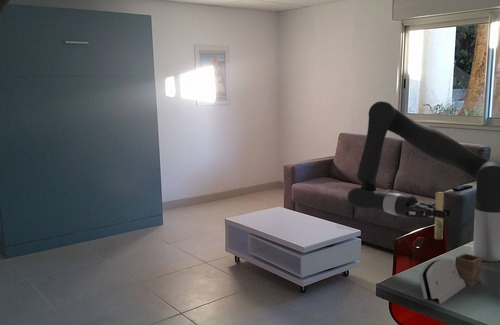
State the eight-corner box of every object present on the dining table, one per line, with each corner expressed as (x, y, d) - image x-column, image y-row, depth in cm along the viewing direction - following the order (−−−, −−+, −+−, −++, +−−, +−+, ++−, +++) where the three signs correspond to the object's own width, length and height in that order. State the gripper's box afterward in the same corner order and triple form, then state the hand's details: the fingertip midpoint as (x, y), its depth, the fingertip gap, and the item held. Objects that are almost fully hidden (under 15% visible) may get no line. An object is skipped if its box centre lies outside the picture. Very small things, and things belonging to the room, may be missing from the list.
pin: (437, 236, 148) (438, 191, 146) (444, 238, 146) (445, 192, 144) (433, 238, 147) (434, 192, 145) (440, 239, 145) (441, 193, 143)
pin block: (463, 275, 144) (464, 253, 143) (480, 281, 140) (481, 257, 139) (454, 280, 141) (455, 257, 140) (472, 286, 137) (473, 262, 136)
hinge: (440, 304, 126) (429, 268, 127) (425, 304, 130) (414, 269, 131) (466, 285, 137) (456, 253, 138) (451, 286, 141) (441, 254, 142)
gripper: (387, 197, 152) (436, 206, 138) (411, 190, 160) (459, 198, 147) (387, 219, 153) (436, 230, 139) (411, 211, 161) (459, 221, 148)
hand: (448, 214), depth 143 cm, fingers closed on pin, 2 cm apart
